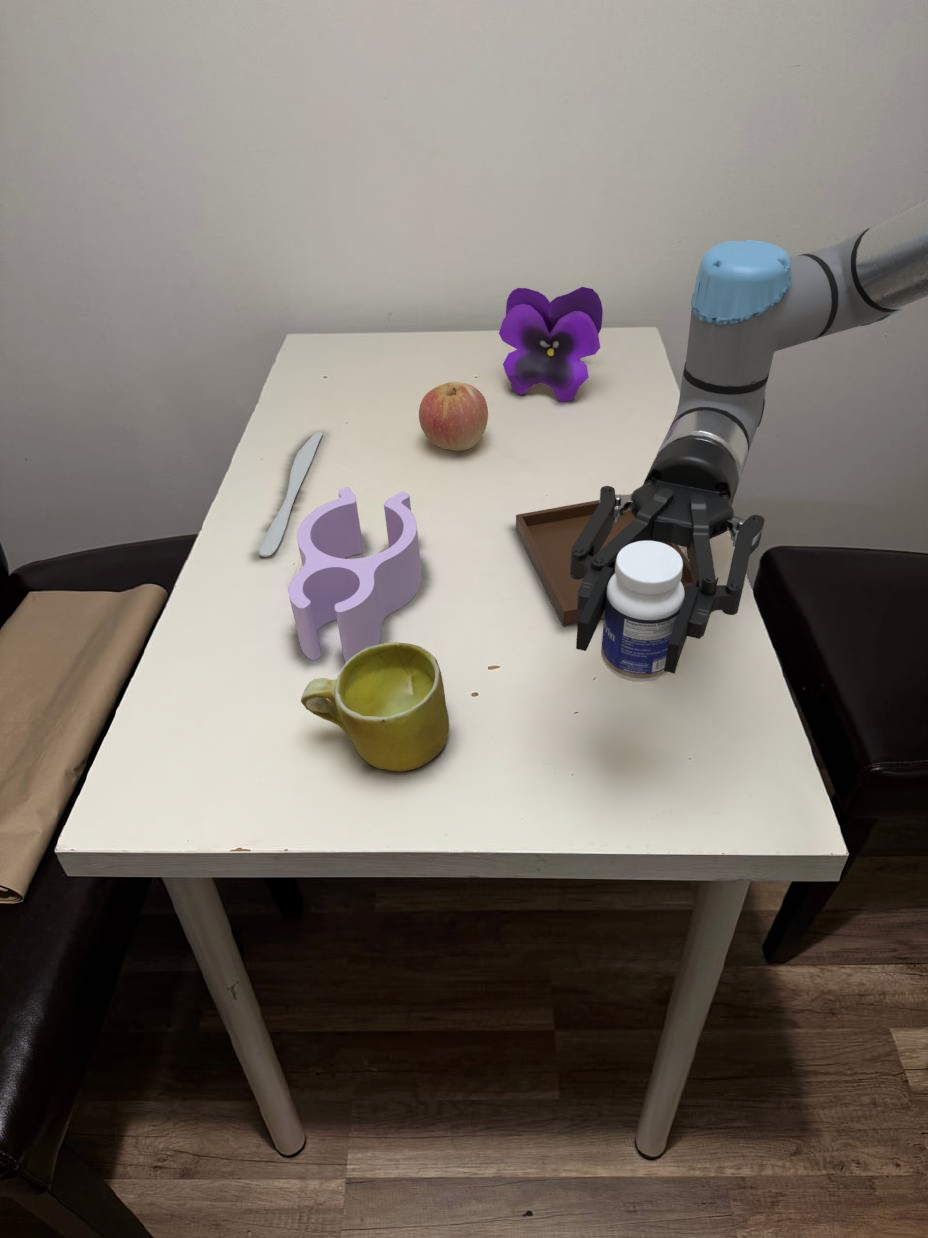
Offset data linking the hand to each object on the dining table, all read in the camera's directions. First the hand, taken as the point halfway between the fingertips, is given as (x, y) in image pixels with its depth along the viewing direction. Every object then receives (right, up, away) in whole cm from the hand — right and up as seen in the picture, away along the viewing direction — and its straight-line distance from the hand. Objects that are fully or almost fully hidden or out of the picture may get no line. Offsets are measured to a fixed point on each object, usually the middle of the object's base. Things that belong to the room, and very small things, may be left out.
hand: (626, 647), depth 62 cm
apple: (-13, +25, +55) cm, 62 cm away
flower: (+2, +37, +67) cm, 77 cm away
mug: (-19, -9, +18) cm, 28 cm away
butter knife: (-33, +18, +48) cm, 61 cm away
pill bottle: (+2, -1, +8) cm, 8 cm away
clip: (-23, +4, +33) cm, 40 cm away
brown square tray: (+4, +8, +36) cm, 37 cm away
